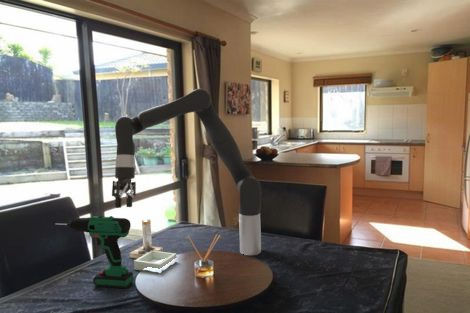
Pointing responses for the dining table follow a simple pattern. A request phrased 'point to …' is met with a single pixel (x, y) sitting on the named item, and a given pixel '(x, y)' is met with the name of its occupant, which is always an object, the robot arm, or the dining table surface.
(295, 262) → the dining table surface
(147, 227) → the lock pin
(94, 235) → the power drill
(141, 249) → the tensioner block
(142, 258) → the tray
